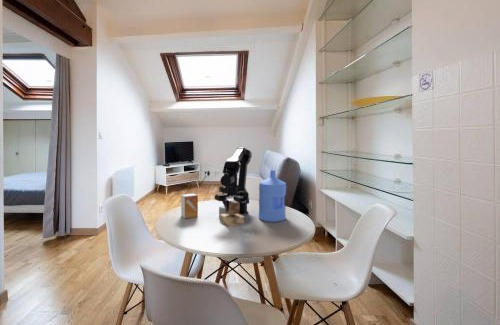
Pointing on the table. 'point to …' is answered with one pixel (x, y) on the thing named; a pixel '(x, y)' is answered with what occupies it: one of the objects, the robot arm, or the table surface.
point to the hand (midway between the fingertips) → (232, 210)
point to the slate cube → (221, 210)
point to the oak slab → (231, 219)
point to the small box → (189, 205)
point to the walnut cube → (233, 208)
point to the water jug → (272, 199)
